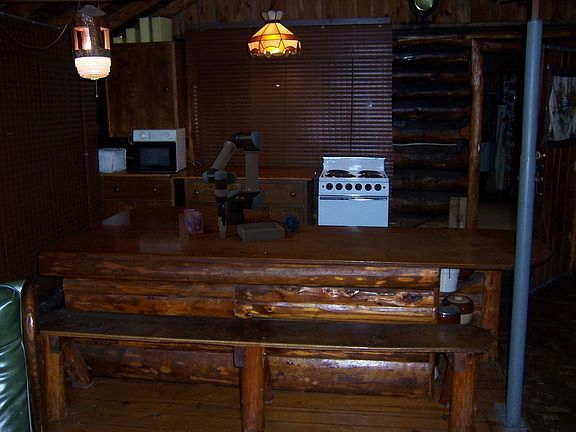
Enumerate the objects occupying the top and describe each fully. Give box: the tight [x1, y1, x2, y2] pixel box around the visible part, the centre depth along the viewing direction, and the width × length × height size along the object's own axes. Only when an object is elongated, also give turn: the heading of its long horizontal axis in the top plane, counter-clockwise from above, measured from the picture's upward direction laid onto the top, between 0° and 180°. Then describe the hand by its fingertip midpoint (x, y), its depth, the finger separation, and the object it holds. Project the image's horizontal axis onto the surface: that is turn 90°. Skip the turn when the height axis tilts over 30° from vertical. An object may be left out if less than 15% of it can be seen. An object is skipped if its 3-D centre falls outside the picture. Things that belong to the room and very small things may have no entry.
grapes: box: [283, 213, 302, 233], centre depth 379 cm, size 12×7×12 cm, turn 82°
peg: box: [218, 218, 227, 239], centre depth 367 cm, size 4×4×12 cm
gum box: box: [183, 207, 204, 235], centre depth 385 cm, size 24×8×14 cm, turn 22°
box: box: [237, 221, 286, 242], centre depth 370 cm, size 22×26×6 cm
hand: (222, 228), depth 367 cm, fingers open, 13 cm apart
